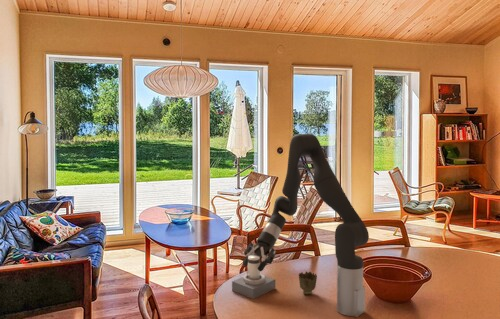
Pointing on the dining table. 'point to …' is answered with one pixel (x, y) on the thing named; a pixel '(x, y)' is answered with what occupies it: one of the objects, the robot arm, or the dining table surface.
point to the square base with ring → (253, 286)
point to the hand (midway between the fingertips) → (251, 268)
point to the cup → (307, 282)
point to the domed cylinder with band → (253, 267)
